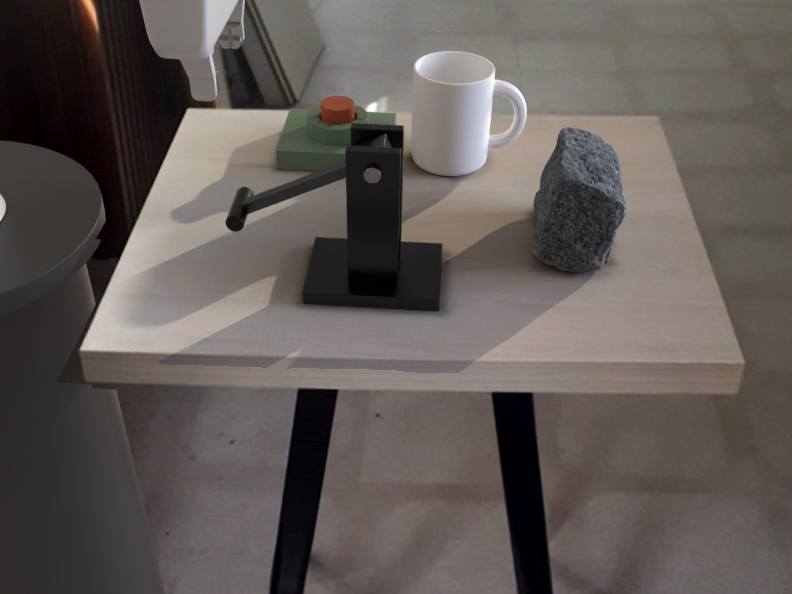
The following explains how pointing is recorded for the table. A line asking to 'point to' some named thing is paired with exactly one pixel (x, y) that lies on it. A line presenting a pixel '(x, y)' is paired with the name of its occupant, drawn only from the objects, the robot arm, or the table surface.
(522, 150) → the table surface
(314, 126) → the button block
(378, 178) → the lever bracket
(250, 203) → the press lever
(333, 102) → the stop button
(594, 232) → the stone
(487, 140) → the mug
